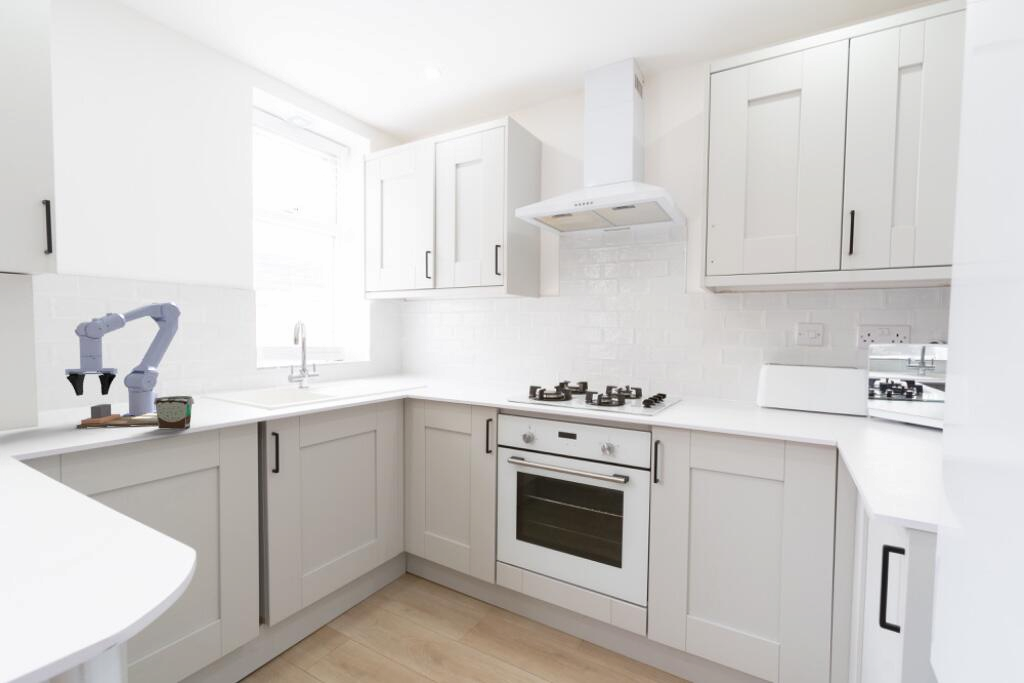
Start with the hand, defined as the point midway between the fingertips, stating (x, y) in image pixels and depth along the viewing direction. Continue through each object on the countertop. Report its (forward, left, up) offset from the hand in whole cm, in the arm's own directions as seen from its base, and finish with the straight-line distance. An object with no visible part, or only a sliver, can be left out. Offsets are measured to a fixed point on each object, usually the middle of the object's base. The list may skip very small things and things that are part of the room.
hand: (92, 395), depth 160 cm
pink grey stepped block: (+4, +5, -8) cm, 10 cm away
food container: (+15, +34, -10) cm, 38 cm away
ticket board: (+4, +15, -9) cm, 18 cm away
